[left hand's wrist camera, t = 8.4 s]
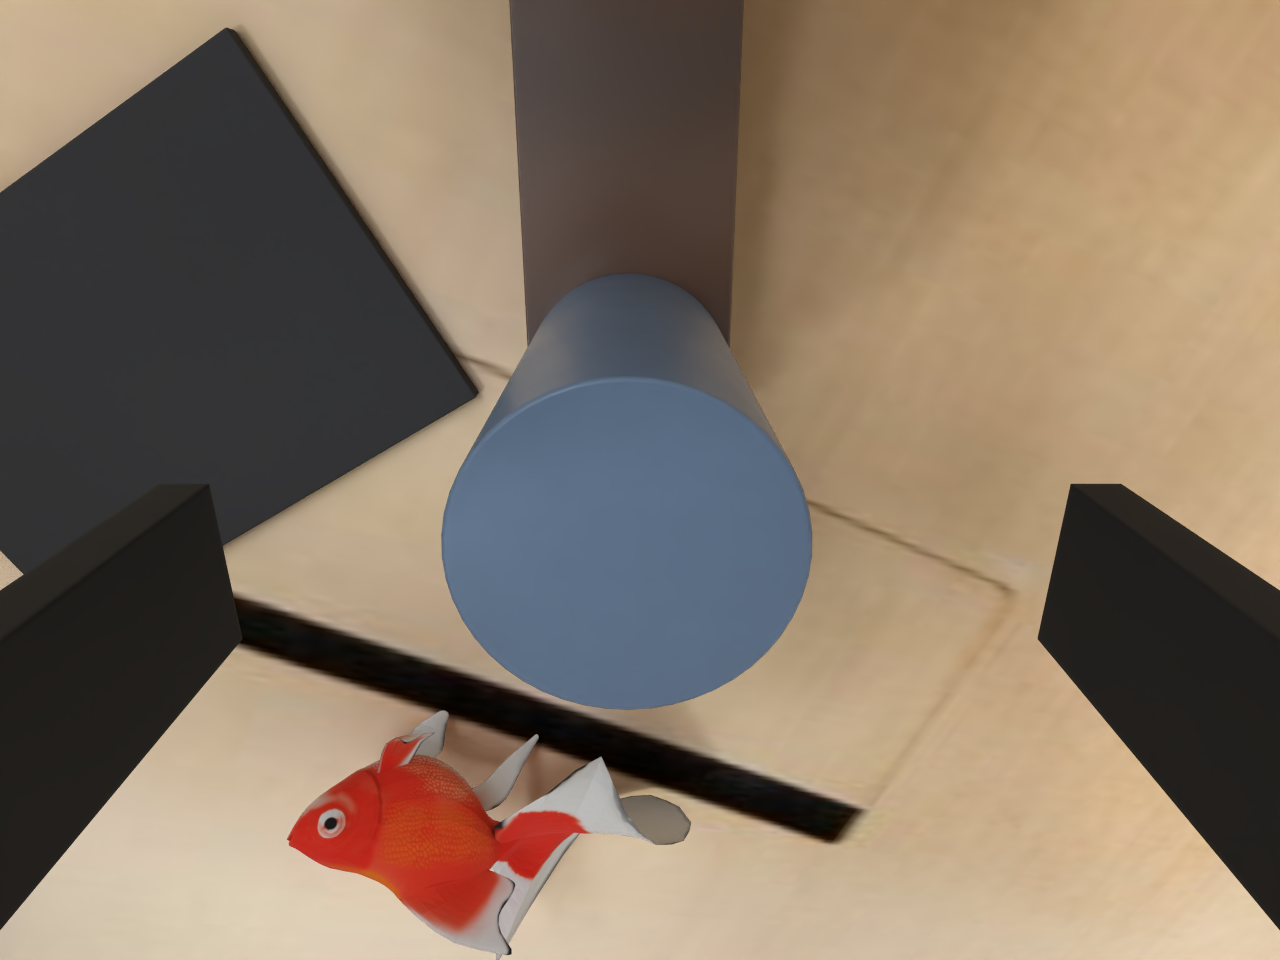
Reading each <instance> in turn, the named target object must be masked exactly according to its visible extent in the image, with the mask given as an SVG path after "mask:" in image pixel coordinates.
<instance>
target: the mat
mask: <svg viewBox="0 0 1280 960" xmlns="http://www.w3.org/2000/svg"><path fill="white" fill-rule="evenodd" d="M477 394H478V391H477V390H476V388H475V387H474V385H473V384H472V382H471V381H470V379H469V378H468V376H467V375H466V373H465V372H464V370H463V369H462V367H461V366H460V364H459V363H458V361H457V360H456V358H455V357H454V355H453V354H452V352H451V351H450V349H449V348H448V346H447V345H446V344H445V342H444V341H443V339H442V338H441V336H440V335H439V333H438V332H437V330H436V329H435V327H434V326H433V324H432V323H431V321H430V320H429V318H428V317H427V315H426V314H425V312H424V311H423V309H422V308H421V306H420V305H419V303H418V302H417V300H416V299H415V297H414V296H413V295H412V293H411V292H410V290H409V289H408V287H407V286H406V284H405V283H404V281H403V280H402V278H401V277H400V275H399V274H398V272H397V271H396V269H395V268H394V266H393V265H392V263H391V262H390V260H389V259H388V257H387V256H386V254H385V253H384V251H383V250H382V248H381V247H380V246H379V244H378V243H377V241H376V240H375V238H374V237H373V235H372V234H371V232H370V231H369V229H368V228H367V226H366V225H365V223H364V222H363V220H362V219H361V217H360V216H359V214H358V213H357V211H356V210H355V208H354V207H353V205H352V204H351V202H350V201H349V199H348V198H347V197H346V195H345V194H344V192H343V191H342V189H341V188H340V186H339V185H338V183H337V182H336V180H335V179H334V177H333V176H332V174H331V173H330V171H329V170H328V168H327V167H326V165H325V164H324V162H323V161H322V159H321V158H320V156H319V155H318V153H317V152H316V150H315V149H314V148H313V146H312V145H311V143H310V142H309V140H308V139H307V137H306V136H305V134H304V133H303V131H302V130H301V128H300V127H299V125H298V124H297V122H296V121H295V119H294V118H293V116H292V115H291V113H290V112H289V110H288V109H287V107H286V106H285V104H284V103H283V101H282V100H281V99H280V97H279V96H278V94H277V93H276V91H275V90H274V88H273V87H272V85H271V84H270V82H269V81H268V79H267V78H266V76H265V75H264V73H263V72H262V70H261V69H260V67H259V66H258V64H257V63H256V61H255V60H254V58H253V57H252V55H251V54H250V52H249V51H248V50H247V48H246V47H245V45H244V44H243V42H242V41H241V39H240V38H239V36H238V35H237V33H236V32H235V31H234V30H232V29H229V28H225V29H223V30H222V31H221V32H219V33H218V34H216V35H215V36H214V37H212V38H211V39H210V40H208V41H207V42H206V43H204V44H203V45H201V46H200V47H199V48H197V49H196V50H195V51H193V52H192V53H190V54H189V55H188V56H186V57H185V58H184V59H182V60H181V61H180V62H178V63H177V64H175V65H174V66H173V67H171V68H170V69H169V70H167V71H166V72H165V73H163V74H162V75H160V76H159V77H158V78H156V79H155V80H154V81H152V82H151V83H149V84H148V85H147V86H145V87H144V88H143V89H141V90H140V91H139V92H137V93H136V94H134V95H133V96H132V97H130V98H129V99H128V100H126V101H125V102H124V103H122V104H121V105H119V106H118V107H117V108H115V109H114V110H113V111H111V112H110V113H108V114H107V115H106V116H104V117H103V118H102V119H100V120H99V121H98V122H96V123H95V124H93V125H92V126H91V127H89V128H88V129H87V130H85V131H84V132H83V133H81V134H80V135H78V136H77V137H76V138H74V139H73V140H72V141H70V142H69V143H67V144H66V145H65V146H63V147H62V148H61V149H59V150H58V151H57V152H55V153H54V154H52V155H51V156H50V157H48V158H47V159H46V160H44V161H43V162H42V163H40V164H39V165H37V166H36V167H35V168H33V169H32V170H31V171H29V172H28V173H26V174H25V175H24V176H22V177H21V178H20V179H18V180H17V181H16V182H14V183H13V184H11V185H10V186H9V187H7V188H6V189H5V190H3V191H2V192H1V193H0V551H1V552H2V553H3V554H4V555H5V556H6V557H7V558H8V559H9V560H10V561H11V562H12V563H13V564H14V565H15V566H16V567H17V568H18V569H19V570H20V571H21V572H22V573H23V574H26V573H27V572H29V571H30V570H32V569H33V568H35V567H36V566H37V565H39V564H40V563H42V562H43V561H45V560H46V559H48V558H49V557H51V556H52V555H54V554H55V553H57V552H58V551H60V550H61V549H63V548H64V547H66V546H67V545H69V544H70V543H72V542H73V541H75V540H76V539H78V538H79V537H81V536H82V535H84V534H85V533H87V532H88V531H90V530H91V529H93V528H94V527H96V526H97V525H99V524H100V523H101V522H103V521H104V520H106V519H107V518H109V517H110V516H112V515H113V514H115V513H116V512H118V511H119V510H121V509H122V508H124V507H125V506H127V505H128V504H130V503H131V502H133V501H134V500H136V499H137V498H139V497H140V496H142V495H143V494H145V493H146V492H148V491H149V490H151V489H152V488H154V487H155V486H157V485H158V484H209V486H210V490H211V495H212V500H213V504H214V509H215V513H216V518H217V523H218V527H219V532H220V537H221V541H222V546H223V545H224V544H226V543H228V542H230V541H231V540H233V539H235V538H236V537H238V536H240V535H242V534H243V533H245V532H247V531H248V530H250V529H252V528H253V527H255V526H257V525H259V524H260V523H262V522H264V521H265V520H267V519H269V518H271V517H272V516H274V515H276V514H277V513H279V512H281V511H282V510H284V509H286V508H288V507H289V506H291V505H293V504H294V503H296V502H298V501H300V500H301V499H303V498H305V497H306V496H308V495H310V494H311V493H313V492H315V491H317V490H318V489H320V488H322V487H323V486H325V485H327V484H329V483H330V482H332V481H334V480H335V479H337V478H339V477H340V476H342V475H344V474H346V473H347V472H349V471H351V470H352V469H354V468H356V467H358V466H359V465H361V464H363V463H364V462H366V461H368V460H369V459H371V458H373V457H375V456H376V455H378V454H380V453H381V452H383V451H385V450H387V449H388V448H390V447H392V446H393V445H395V444H397V443H398V442H400V441H402V440H404V439H405V438H407V437H409V436H410V435H412V434H414V433H416V432H417V431H419V430H421V429H422V428H424V427H426V426H427V425H429V424H431V423H433V422H434V421H436V420H438V419H439V418H441V417H443V416H445V415H446V414H448V413H450V412H451V411H453V410H455V409H456V408H458V407H460V406H462V405H463V404H465V403H467V402H468V401H470V400H472V399H474V398H475V397H476V396H477Z"/></svg>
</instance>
